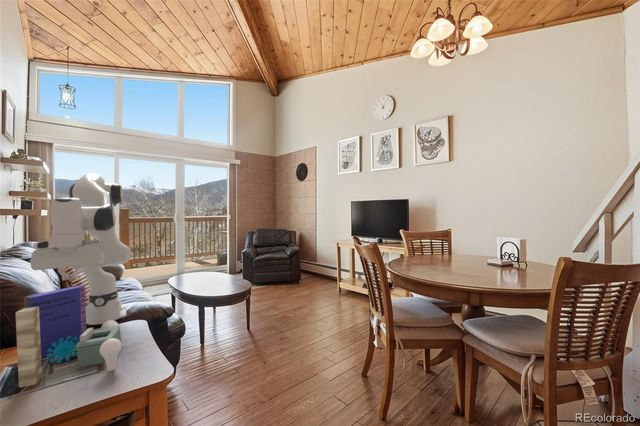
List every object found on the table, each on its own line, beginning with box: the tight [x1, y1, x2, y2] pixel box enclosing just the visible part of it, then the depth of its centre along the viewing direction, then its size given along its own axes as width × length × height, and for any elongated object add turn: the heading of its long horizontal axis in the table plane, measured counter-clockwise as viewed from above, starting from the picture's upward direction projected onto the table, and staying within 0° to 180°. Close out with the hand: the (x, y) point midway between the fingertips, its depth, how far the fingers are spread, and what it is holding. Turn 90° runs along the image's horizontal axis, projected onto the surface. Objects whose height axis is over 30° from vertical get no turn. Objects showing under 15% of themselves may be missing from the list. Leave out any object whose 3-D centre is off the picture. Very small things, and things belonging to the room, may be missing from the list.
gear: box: [46, 336, 80, 364], centre depth 107 cm, size 11×6×10 cm
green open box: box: [76, 330, 122, 369], centre depth 107 cm, size 12×10×7 cm
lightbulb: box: [100, 338, 122, 372], centre depth 96 cm, size 6×6×11 cm
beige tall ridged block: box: [15, 307, 43, 388], centre depth 91 cm, size 4×4×24 cm
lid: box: [76, 326, 121, 348], centre depth 107 cm, size 12×10×3 cm
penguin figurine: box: [99, 320, 119, 330], centre depth 119 cm, size 6×8×12 cm
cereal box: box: [24, 284, 88, 358], centre depth 115 cm, size 17×5×24 cm, turn 154°
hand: (70, 279), depth 102 cm, fingers closed
